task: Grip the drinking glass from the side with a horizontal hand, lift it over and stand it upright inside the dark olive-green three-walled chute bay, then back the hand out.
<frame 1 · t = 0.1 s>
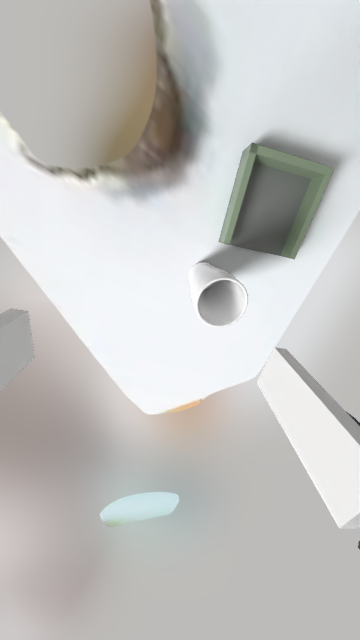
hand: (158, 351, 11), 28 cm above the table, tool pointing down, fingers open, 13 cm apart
drinking glass: (201, 275, 37), on the table
chute bay: (265, 209, 33), on the table
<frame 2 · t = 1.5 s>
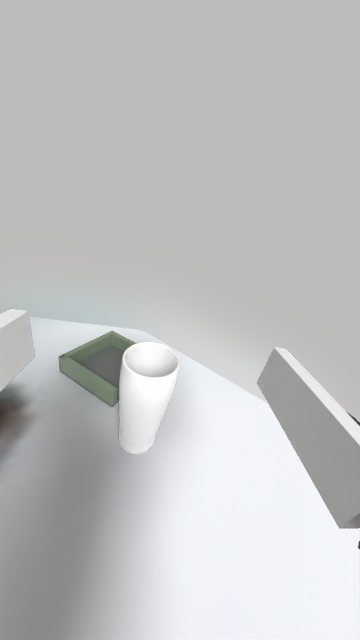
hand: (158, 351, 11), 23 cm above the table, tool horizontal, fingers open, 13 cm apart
drinking glass: (136, 437, 29), on the table
chute bay: (111, 368, 40), on the table
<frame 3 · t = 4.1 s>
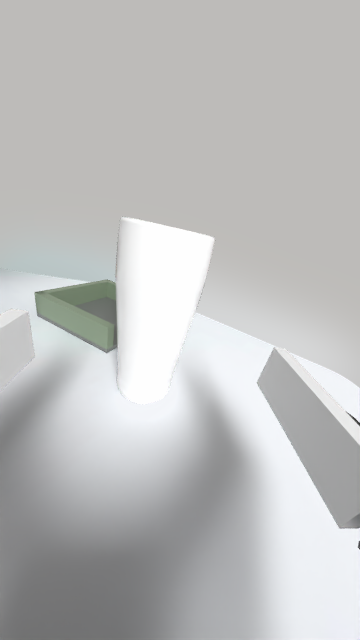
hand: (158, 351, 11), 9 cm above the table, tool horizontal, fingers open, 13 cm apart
drinking glass: (143, 386, 20), on the table
chute bay: (106, 317, 31), on the table
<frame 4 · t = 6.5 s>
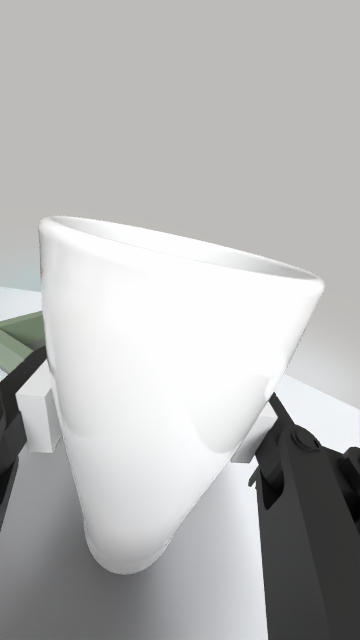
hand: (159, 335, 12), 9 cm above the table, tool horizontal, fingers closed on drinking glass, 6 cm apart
drinking glass: (133, 507, 12), on the table, touching gripper
chute bay: (88, 354, 23), on the table
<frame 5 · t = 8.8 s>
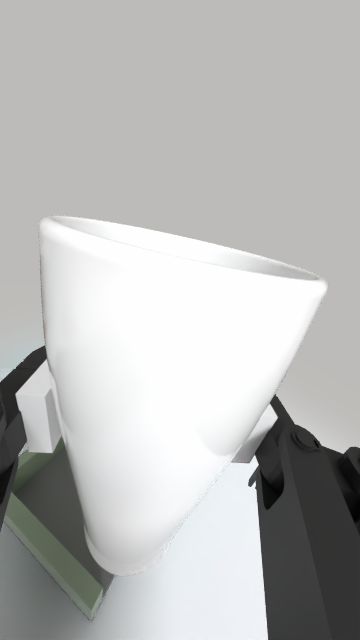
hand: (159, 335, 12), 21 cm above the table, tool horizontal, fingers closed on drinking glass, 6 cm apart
drinking glass: (133, 508, 12), point 11 cm above the table, touching gripper
chute bay: (96, 478, 22), on the table
when the fingers open (11 cm above the table, at t = 11.5 s): drinking glass drops 1 cm, resting on chute bay.
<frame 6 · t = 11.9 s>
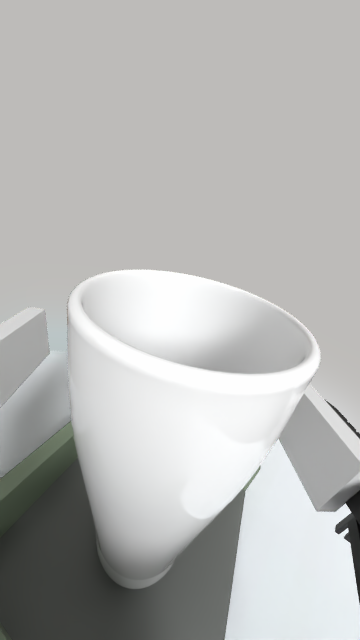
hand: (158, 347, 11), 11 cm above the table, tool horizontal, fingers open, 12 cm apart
drinking glass: (141, 521, 12), resting on chute bay
chute bay: (130, 520, 12), on the table
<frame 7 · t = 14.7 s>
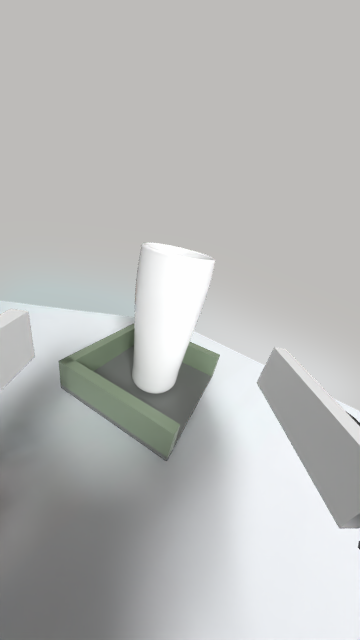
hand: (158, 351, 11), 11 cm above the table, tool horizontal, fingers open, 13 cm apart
drinking glass: (153, 380, 23), resting on chute bay
chute bay: (147, 380, 24), on the table
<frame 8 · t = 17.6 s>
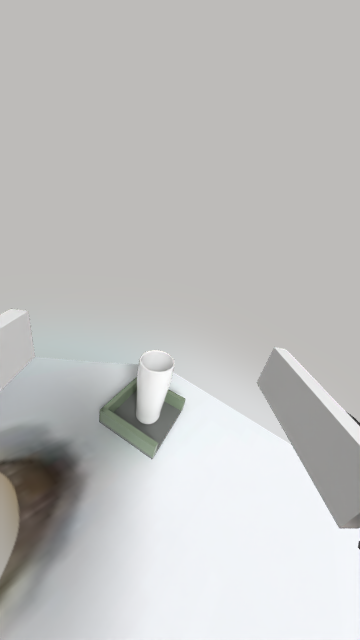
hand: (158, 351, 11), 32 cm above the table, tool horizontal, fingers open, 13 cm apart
drinking glass: (147, 415, 42), resting on chute bay
chute bay: (144, 415, 43), on the table
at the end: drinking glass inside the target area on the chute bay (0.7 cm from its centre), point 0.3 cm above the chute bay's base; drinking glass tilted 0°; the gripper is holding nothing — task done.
